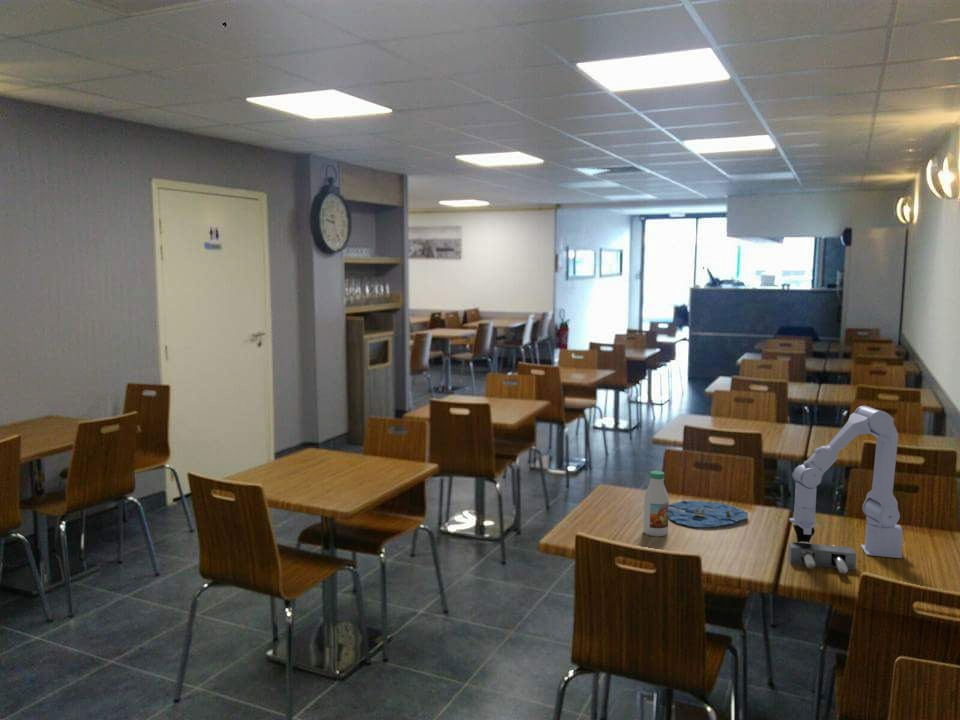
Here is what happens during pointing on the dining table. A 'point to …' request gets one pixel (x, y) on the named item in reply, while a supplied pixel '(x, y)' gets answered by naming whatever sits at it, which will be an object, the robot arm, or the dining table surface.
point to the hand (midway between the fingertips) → (802, 550)
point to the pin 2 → (839, 562)
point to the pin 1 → (807, 556)
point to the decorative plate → (705, 513)
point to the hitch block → (821, 554)
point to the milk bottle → (656, 506)
